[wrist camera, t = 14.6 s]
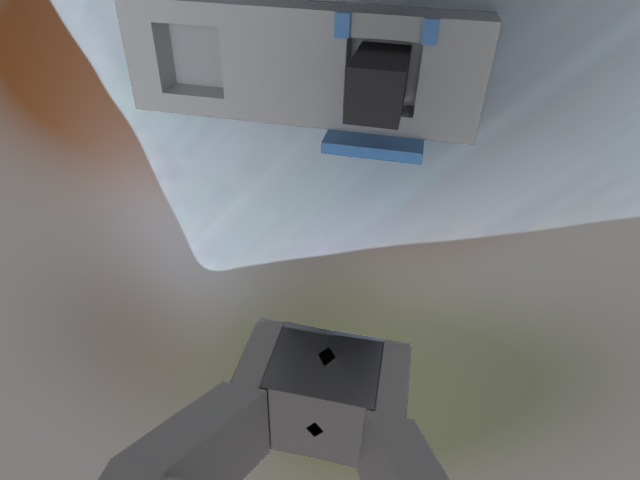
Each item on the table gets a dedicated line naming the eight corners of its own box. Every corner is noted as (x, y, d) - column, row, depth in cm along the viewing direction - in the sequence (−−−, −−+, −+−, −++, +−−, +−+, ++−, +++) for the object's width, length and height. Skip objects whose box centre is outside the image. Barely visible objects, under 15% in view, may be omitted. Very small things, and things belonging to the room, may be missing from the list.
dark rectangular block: (362, 40, 34) (346, 66, 28) (412, 45, 33) (406, 72, 28) (358, 90, 36) (342, 123, 30) (405, 95, 35) (398, 130, 30)
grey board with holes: (139, -11, 36) (92, 1, 31) (496, 12, 32) (506, 30, 27) (158, 104, 41) (120, 130, 36) (469, 136, 37) (473, 170, 32)
